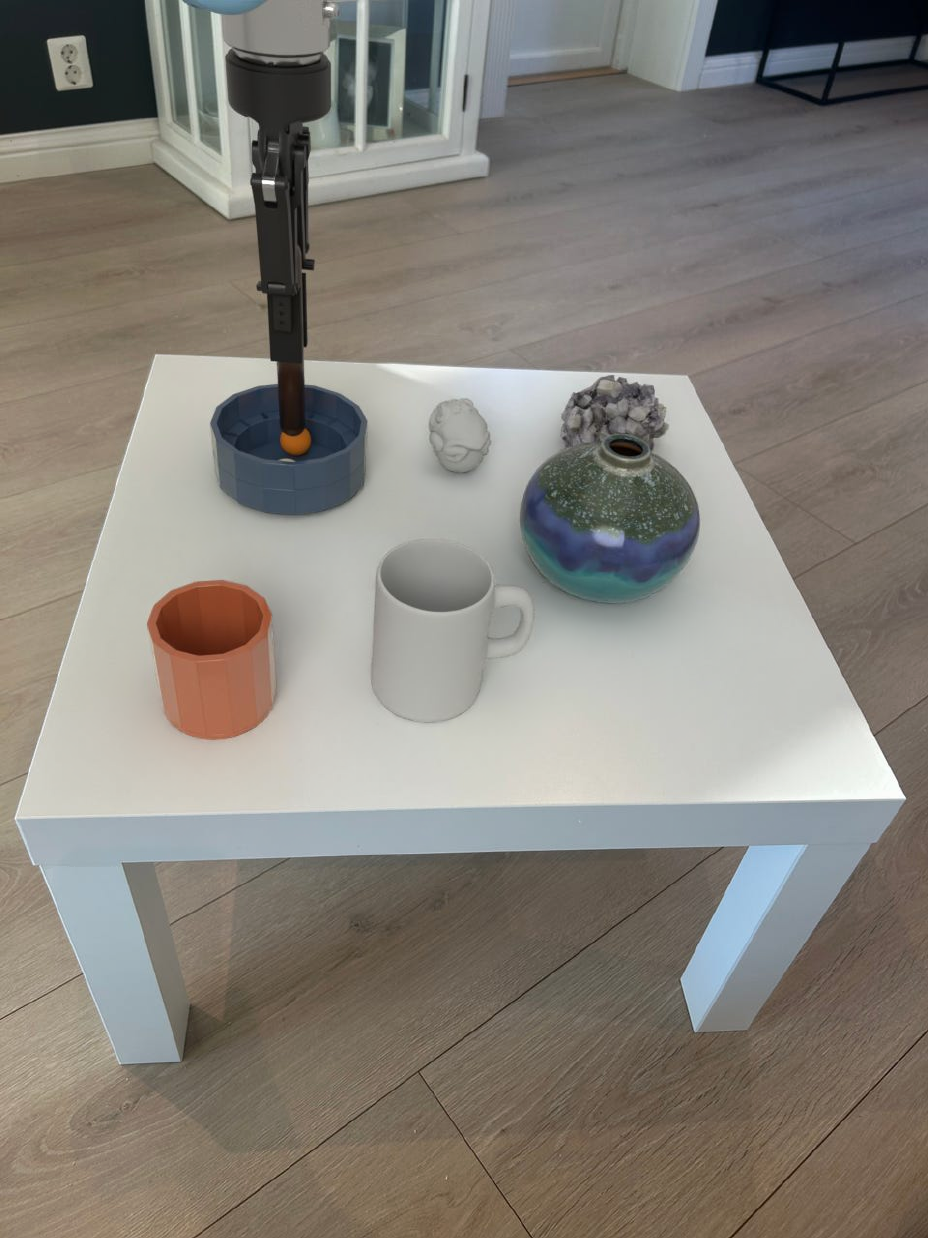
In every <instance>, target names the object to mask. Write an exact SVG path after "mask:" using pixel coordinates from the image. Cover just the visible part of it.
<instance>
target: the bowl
mask: <svg viewBox="0 0 928 1238" xmlns="http://www.w3.org/2000/svg"><path fill="white" fill-rule="evenodd" d="M305 416H306V425H305V429H307V431H308V432H309V434H310V436H311V445H310V448H309V449H308V451H307V452H306V453H304V454H302V455H299V456H293V455H290V454H288V453H287V452H285V451H284V449H283V448H282V446H281V443H280V437H281V434H282V432H283V431H282V430H281V428H280V421H279V400H278V383H272V384H262V385H255V386H253V387H251V388H247V389H244V390H242V391H238V392H235V393H233V394H232V395H230V396H229V397H227V398H226V399H225V400H223V401H222V402H221V403H220V404H219V405H217V406H216V407H215V409H214V412H213V415H212V417H211V420H210V422H209V428H210V437H211V448H212V449H211V450H212V456H213V458H212V459H213V469H214V474H215V477H216V479H217V482H218V486H219V488H220V489H221V490H222V491H223V492H224V493H226V495H228V496H229V497H231V499H233V500H234V501H235V502H236V503H238V504H240V505H242V506H246V507H249V508H251V509H254V510H256V511H260V512H263V513H270V514H282V515H291V516H292V515H293V516H295V515H296V516H297V515H303V514H304V515H305V514H310V513H316V512H317V513H318V512H323V511H327V510H329V509H331V508H334V507H336V506H338V505H340V504H344V503H345V502H348V501H349V500H351V499H352V498H353V496H354V495H356V493H357V492H358V491H359V490H360V489H361V488H362V487H363V486H364V484H365V478H366V472H367V459H368V457H367V456H368V455H367V454H368V426H369V425H368V418H367V417H366V415H365V414H364V412H363V410H362V409H361V407H360V405H358V404H357V403H355V402H354V401H353V400H351V399H349V398H348V397H346V396H345V395H343V394H342V393H340V392H337V391H335V390H332V389H327V388H325V387H321V386H318V385H315V384H305ZM280 459H291V460H294V461H295V462H290V461H279V460H280Z"/></svg>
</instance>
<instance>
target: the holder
mask: <svg viewBox="0 0 928 1238" xmlns="http://www.w3.org/2000/svg"><path fill="white" fill-rule="evenodd" d="M148 616H149V617H148V619H147V621H146V628H147V633H148V639H149V645H150V650H151V655H152V662H153V668H154V673H155V679H156V684H157V689H158V696H159V700H160V703H161V708H162V711H163V714H164V716H165V719H167V721H168V722H169V723H170V725H171V726H173V727H174V728H175V729H176V730H178V731H179V732H180V733H183V734H185V735H187V736H189V737H194V738H197V739H202V740H203V739H204V740H225V739H229V738H233V737H237V736H240V735H243V734H246V733H248V732H249V731H251V730H253V729H254V728H256V727H258V726H259V725H260V724H261V723H262V722H263V721H264V720H265V719H266V718H267V717H268V716H269V714H270V713H271V711H272V708H273V707H274V703H275V700H276V690H277V680H276V679H277V678H276V665H275V663H276V662H275V661H276V660H275V644H274V629H273V628H274V627H273V625H274V624H273V614H272V612H271V609H270V607H269V604H268V603H267V601H266V599H265V597H264V596H263V595H261V594H260V593H258V592H256V591H255V590H254V589H252V588H251V587H249V586H247V584H241V583H237V582H233V581H228V580H224V579H213V580H199V581H193V582H190V583H188V584H186V585H182V586H180V587H177V588H174V589H172V590H170V591H169V592H168V593H166V594H165V595H164V596H162V598H160V599H159V600H158V601H157V602H156V603H155V604H154V605H153V607H152V608H151V612H150V614H149V615H148Z"/></svg>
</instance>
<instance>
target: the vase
mask: <svg viewBox="0 0 928 1238" xmlns="http://www.w3.org/2000/svg"><path fill="white" fill-rule="evenodd" d="M693 490H694V489H693V488H692V487H691V485H690V483H689V482H688V480H687V479H686V478H685V477H684V476H683V474H682V473H681V472H680V471H679V470H678V468H676V467H675V466H673V465H672V464H671V463H670V462H669V461H668V460H666V459H665V458H663V457H662V456H660V455H659V454H656V453H655V452H652V450H651V451H650V447H649V446H648V444H647V443H646V442H644V441H643V440H642V439H640V438H638V437H635V436H632V435H628V434H613V435H610V436H608V437H606V438H605V439H603V441H596V442H588V443H583V444H579V445H575V446H572V447H569V448H568V447H567V448H564V449H562V450H560V451H558V452H556V453H554V454H552V455H551V456H550V457H548V458H547V459H545V461H544V462H543V463H542V464H540V465H539V467H537V469H536V470H535V471H534V473H533V474H532V476H530V479H529V480H528V481H527V484H526V485H525V489H524V490H523V494H522V496H521V497H522V498H521V501H520V509H519V526H520V531H521V536H522V541H523V544H524V546H525V549H526V552H527V554H528V557H529V558H530V560H531V561H532V562H533V564H534V565H535V567H536V568H537V570H538V571H539V573H540V574H542V576H543V577H545V579H547V580H548V581H549V582H550V583H552V584H553V585H554V586H556V587H557V588H559V589H560V590H562V591H563V592H565V593H568V594H569V595H571V596H574V597H577V598H580V599H583V600H586V601H591V602H597V603H602V604H603V603H604V604H623V603H624V604H625V603H629V602H634V601H638V600H641V599H642V600H643V599H644V598H647V597H649V596H652V595H654V594H655V593H657V592H659V591H660V590H662V589H664V588H666V586H668V585H669V584H670V583H672V581H674V580H675V579H676V578H677V577H678V576H679V575H680V574H681V572H683V570H684V569H685V567H686V566H687V564H688V563H689V561H690V560H691V557H692V555H693V554H694V551H695V549H696V546H697V544H698V541H699V540H698V539H699V536H700V529H701V516H700V515H701V514H700V508H699V503H698V500H697V498H696V495H695V492H694V491H693Z"/></svg>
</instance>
